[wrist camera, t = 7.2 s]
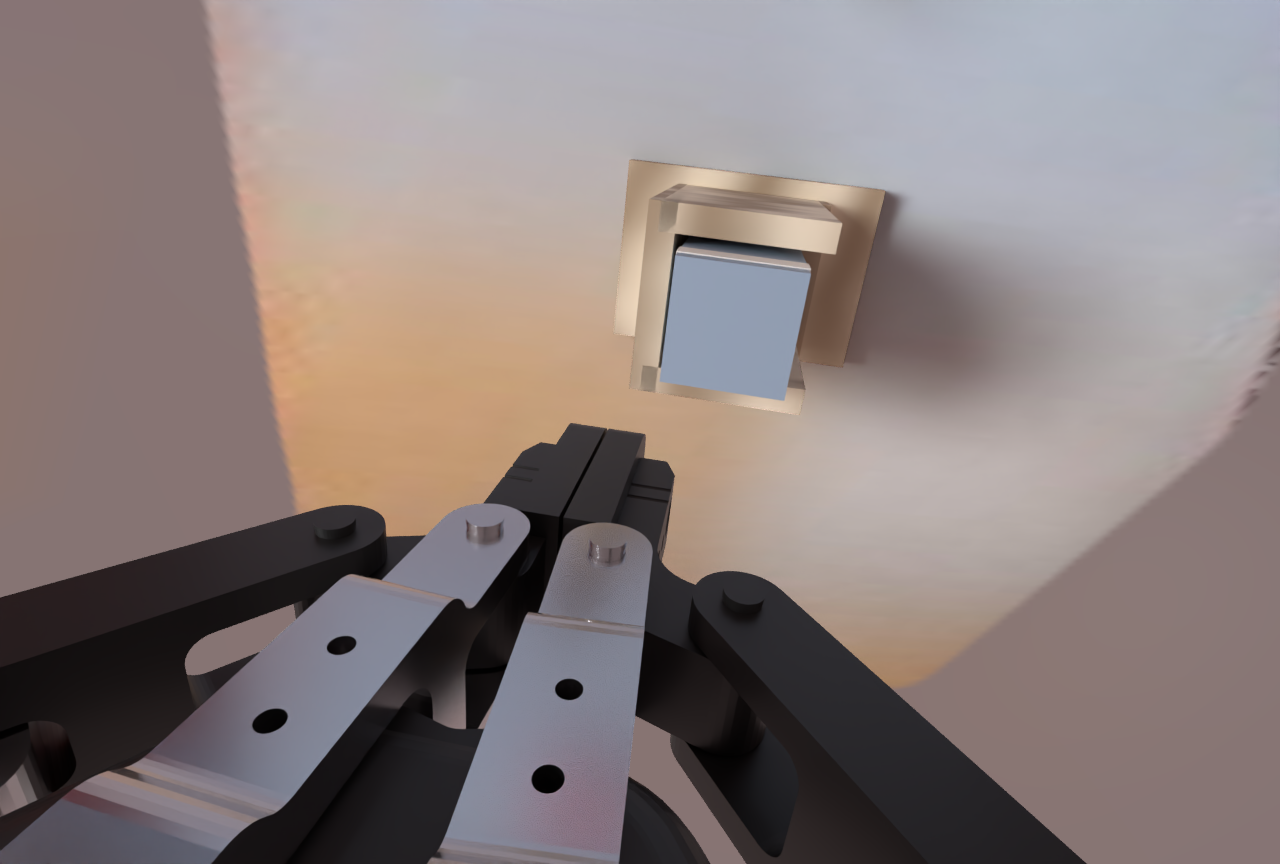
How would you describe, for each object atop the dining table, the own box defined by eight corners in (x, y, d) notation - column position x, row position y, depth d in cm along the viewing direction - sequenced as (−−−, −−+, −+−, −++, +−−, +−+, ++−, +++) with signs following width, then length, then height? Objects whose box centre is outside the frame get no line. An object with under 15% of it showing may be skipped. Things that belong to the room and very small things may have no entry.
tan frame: (881, 189, 37) (938, 210, 25) (840, 361, 41) (873, 446, 30) (633, 159, 38) (580, 166, 27) (617, 328, 42) (565, 397, 31)
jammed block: (793, 228, 37) (812, 272, 24) (775, 317, 39) (785, 402, 26) (701, 216, 37) (674, 254, 25) (689, 305, 40) (658, 382, 27)
